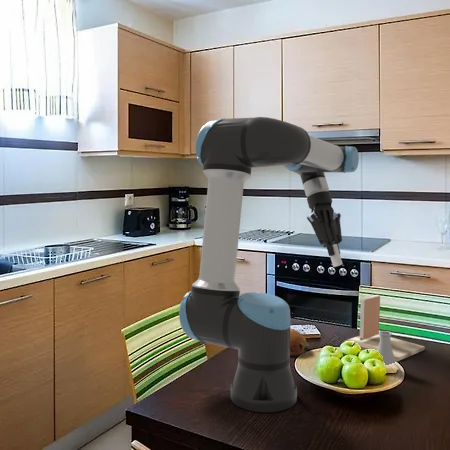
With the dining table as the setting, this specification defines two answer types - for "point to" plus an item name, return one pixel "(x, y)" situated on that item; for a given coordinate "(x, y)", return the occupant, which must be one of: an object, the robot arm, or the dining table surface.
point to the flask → (386, 347)
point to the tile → (369, 317)
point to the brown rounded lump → (297, 343)
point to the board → (398, 346)
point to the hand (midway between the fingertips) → (337, 265)
